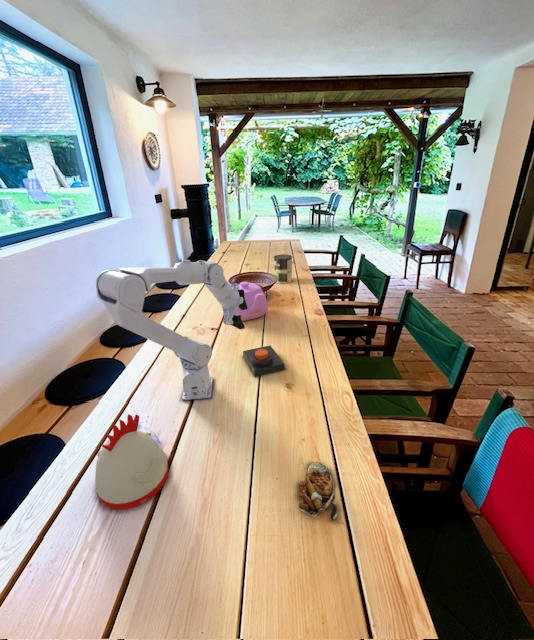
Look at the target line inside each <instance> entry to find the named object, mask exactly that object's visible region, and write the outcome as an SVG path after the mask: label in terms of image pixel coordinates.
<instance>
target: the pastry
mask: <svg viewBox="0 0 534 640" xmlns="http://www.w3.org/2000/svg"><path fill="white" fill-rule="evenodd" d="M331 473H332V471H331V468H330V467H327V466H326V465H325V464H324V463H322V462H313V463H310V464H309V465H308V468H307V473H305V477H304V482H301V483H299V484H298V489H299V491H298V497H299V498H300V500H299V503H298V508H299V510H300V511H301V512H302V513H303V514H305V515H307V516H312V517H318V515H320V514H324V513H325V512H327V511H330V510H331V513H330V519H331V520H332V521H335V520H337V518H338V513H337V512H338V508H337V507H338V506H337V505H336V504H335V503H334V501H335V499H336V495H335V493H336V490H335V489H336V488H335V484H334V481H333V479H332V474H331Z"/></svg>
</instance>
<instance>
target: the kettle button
mask: <svg viewBox="0 0 534 640" xmlns="http://www.w3.org/2000/svg"><path fill="white" fill-rule="evenodd" d="M255 356H256V359H258V360H264V359H267V358H268V351H267V350H265V349H259V350H257V351H256V352H255Z"/></svg>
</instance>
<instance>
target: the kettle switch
mask: <svg viewBox="0 0 534 640" xmlns="http://www.w3.org/2000/svg"><path fill="white" fill-rule="evenodd" d="M259 349H265V350H267V351H268V358H267V359H264V360H258V359H256V356H255V352H256V351H257V350H259ZM242 357H243V359H244V360H245V362H246V364H247V366H248V367H249V370H250V371H251V373H252V374H253V376H254V377H259V376H263V375H268V374H272V373H276V372H282V371H284V370H286V368H285V362H284V361H283V359H281V357H280V356H279V354H278V353H277V352H276V351H275V350H274V348H273V346H271V345H264V346H261V347H256V348H251V349H246V350H242Z"/></svg>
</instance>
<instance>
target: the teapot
mask: <svg viewBox="0 0 534 640" xmlns="http://www.w3.org/2000/svg"><path fill="white" fill-rule="evenodd" d="M237 285H238V286H239V289H238V290H241V289H243V290H244V296H245V301H246V304H247V307H248V308H247V309H246V310H241V309H240V308H239V307H238V308H237V310H236V312H235V314H234V315H236V316H237V315H241V320H242V322H245V321H246V322H247V321H249V320H254V319H258V318H260V317H262V316H264V315H265V314H266V313H267V311H268V308H269V307H268V305H269V304H268V300H267V296H266V295H265V293H264V291H263V288H262V287H261V286H260V285H258V284H256V283H253V282H249V281H241V282H240V283H238V284H237Z"/></svg>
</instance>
